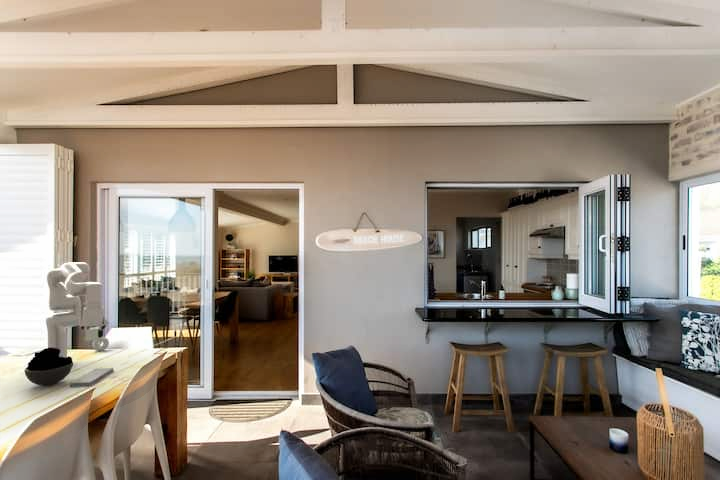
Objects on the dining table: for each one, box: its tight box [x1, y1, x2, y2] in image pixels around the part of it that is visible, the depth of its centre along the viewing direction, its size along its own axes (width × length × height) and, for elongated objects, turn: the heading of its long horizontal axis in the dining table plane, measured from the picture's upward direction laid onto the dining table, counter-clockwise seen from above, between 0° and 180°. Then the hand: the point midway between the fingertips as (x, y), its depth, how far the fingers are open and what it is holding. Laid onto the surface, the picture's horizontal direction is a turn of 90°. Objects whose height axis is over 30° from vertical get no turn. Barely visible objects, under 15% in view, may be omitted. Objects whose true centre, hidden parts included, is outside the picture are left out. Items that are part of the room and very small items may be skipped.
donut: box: [91, 336, 110, 352], centre depth 271 cm, size 10×4×10 cm, turn 117°
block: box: [84, 326, 104, 342], centre depth 215 cm, size 6×6×6 cm
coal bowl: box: [24, 347, 74, 387], centre depth 204 cm, size 20×20×19 cm
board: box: [69, 367, 114, 388], centre depth 212 cm, size 10×24×2 cm, turn 8°
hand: (93, 337), depth 215 cm, fingers closed on block, 6 cm apart
